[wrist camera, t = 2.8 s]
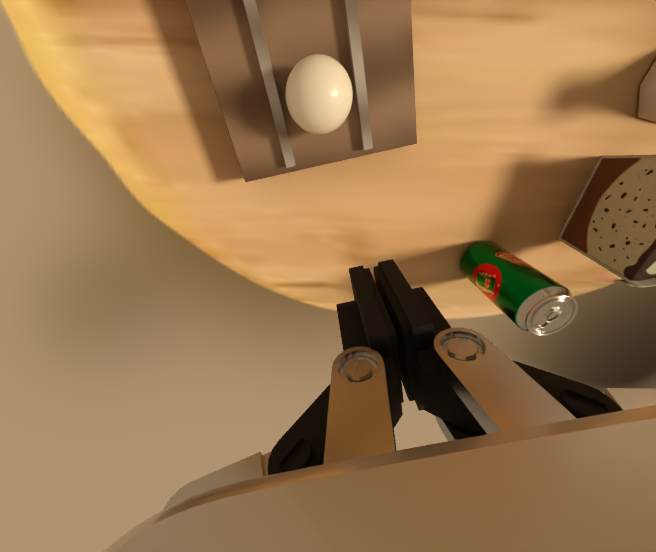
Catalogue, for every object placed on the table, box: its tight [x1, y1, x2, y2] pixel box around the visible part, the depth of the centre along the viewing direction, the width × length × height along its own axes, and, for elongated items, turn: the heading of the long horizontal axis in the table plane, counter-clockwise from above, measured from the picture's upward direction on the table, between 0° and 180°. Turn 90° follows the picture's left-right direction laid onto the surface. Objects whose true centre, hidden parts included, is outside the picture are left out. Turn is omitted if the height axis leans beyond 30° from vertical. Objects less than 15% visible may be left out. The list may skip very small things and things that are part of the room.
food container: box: [558, 155, 656, 287], centre depth 28 cm, size 12×6×10 cm, turn 174°
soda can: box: [460, 241, 578, 336], centre depth 29 cm, size 5×5×12 cm
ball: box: [286, 54, 353, 134], centre depth 21 cm, size 5×5×5 cm
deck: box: [185, 0, 417, 182], centre depth 21 cm, size 22×16×4 cm
